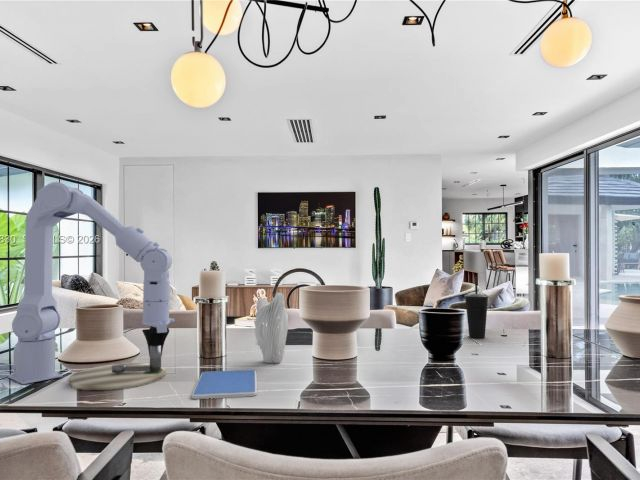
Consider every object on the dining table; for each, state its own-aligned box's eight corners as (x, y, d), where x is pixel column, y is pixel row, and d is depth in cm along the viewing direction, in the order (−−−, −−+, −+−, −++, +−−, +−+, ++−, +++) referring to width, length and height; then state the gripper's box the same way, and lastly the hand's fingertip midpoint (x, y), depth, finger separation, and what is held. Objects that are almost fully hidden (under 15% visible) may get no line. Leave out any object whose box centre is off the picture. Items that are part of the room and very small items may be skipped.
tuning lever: (109, 372, 103) (109, 347, 103) (114, 369, 106) (114, 345, 106) (159, 371, 103) (159, 346, 104) (162, 368, 106) (162, 344, 107)
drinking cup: (491, 336, 153) (490, 275, 154) (486, 340, 147) (485, 276, 148) (468, 334, 157) (467, 275, 158) (462, 338, 151) (461, 276, 152)
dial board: (53, 379, 103) (53, 374, 103) (138, 363, 118) (138, 358, 118) (93, 396, 90) (93, 391, 90) (183, 375, 105) (183, 370, 105)
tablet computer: (201, 376, 107) (201, 370, 107) (256, 374, 109) (256, 368, 109) (190, 402, 88) (190, 395, 88) (257, 399, 90) (257, 392, 90)
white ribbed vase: (257, 358, 122) (256, 290, 123) (288, 358, 123) (288, 290, 123) (253, 366, 114) (253, 293, 115) (287, 365, 114) (287, 292, 115)
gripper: (181, 302, 103) (180, 364, 103) (167, 297, 116) (166, 352, 115) (148, 304, 100) (147, 368, 99) (137, 298, 112) (136, 355, 112)
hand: (155, 359), depth 107 cm, fingers closed
